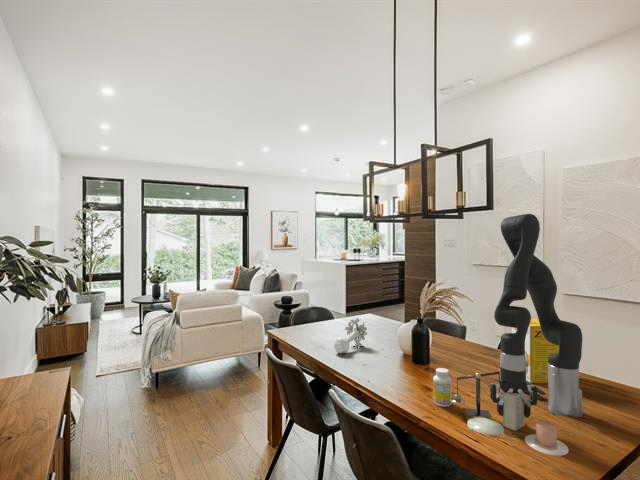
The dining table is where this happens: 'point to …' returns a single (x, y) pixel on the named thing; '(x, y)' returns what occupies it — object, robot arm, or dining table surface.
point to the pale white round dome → (485, 426)
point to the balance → (476, 411)
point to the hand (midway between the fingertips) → (513, 415)
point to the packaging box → (537, 353)
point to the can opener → (537, 391)
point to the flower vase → (350, 337)
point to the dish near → (559, 451)
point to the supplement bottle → (442, 388)
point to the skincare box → (513, 411)
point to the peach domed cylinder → (546, 435)
